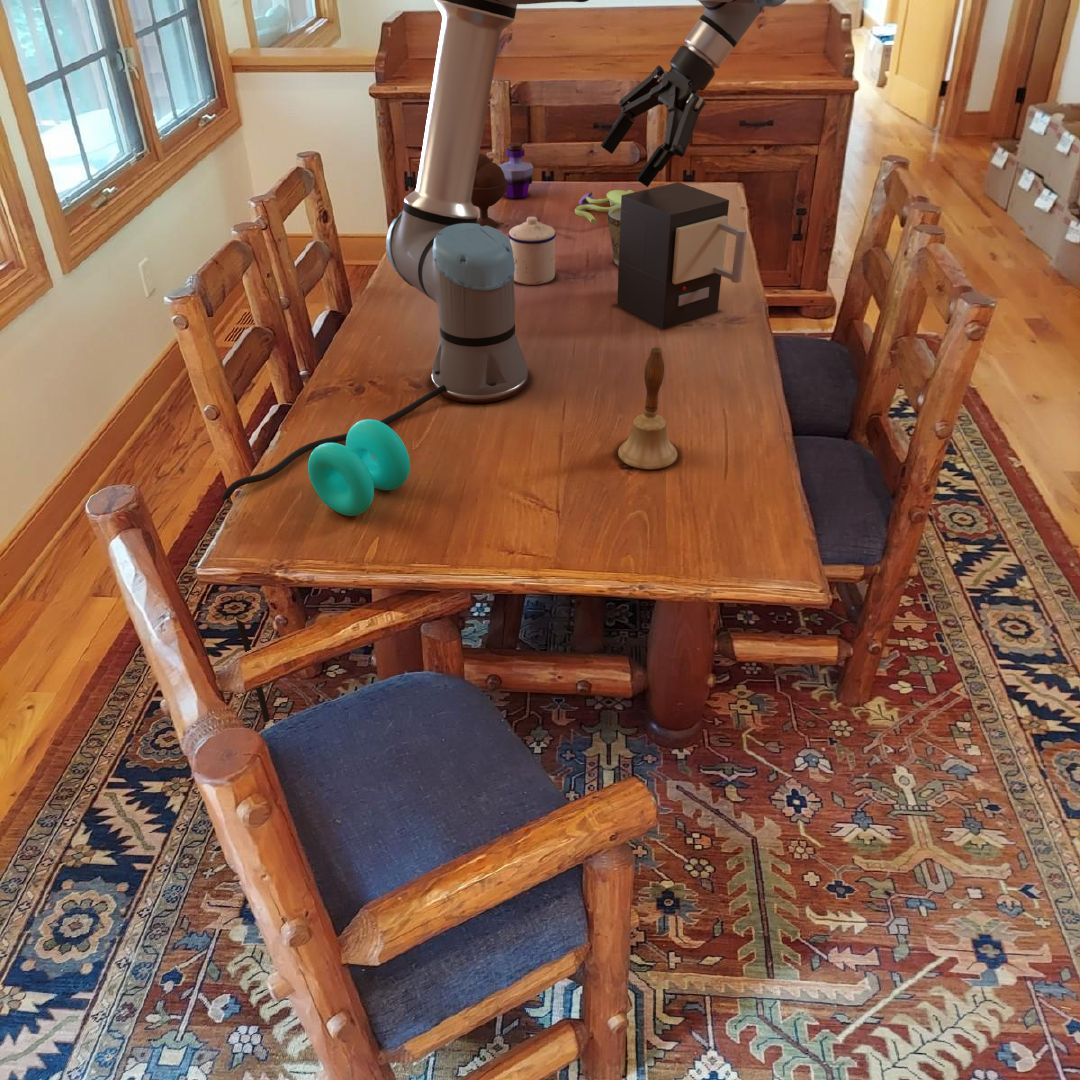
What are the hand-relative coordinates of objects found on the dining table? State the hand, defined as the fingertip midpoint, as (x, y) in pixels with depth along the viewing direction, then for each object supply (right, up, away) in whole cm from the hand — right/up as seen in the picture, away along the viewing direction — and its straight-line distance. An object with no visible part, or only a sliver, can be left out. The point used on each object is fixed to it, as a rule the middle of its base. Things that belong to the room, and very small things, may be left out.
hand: (623, 166), depth 171 cm
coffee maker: (+8, -24, +4) cm, 26 cm away
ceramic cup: (+4, -10, +24) cm, 27 cm away
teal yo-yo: (-38, -61, -45) cm, 85 cm away
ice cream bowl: (-27, +3, +43) cm, 51 cm away
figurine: (+3, +5, +45) cm, 45 cm away
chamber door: (+14, -23, -7) cm, 28 cm away
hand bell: (0, -55, -36) cm, 66 cm away
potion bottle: (-20, +16, +60) cm, 65 cm away
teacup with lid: (-18, -15, +18) cm, 29 cm away
